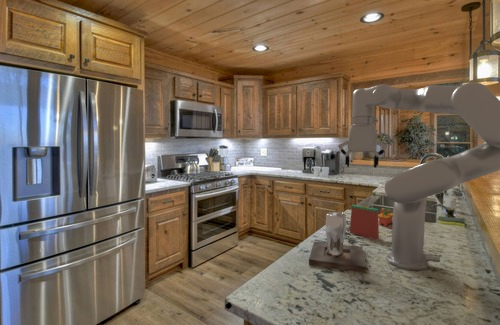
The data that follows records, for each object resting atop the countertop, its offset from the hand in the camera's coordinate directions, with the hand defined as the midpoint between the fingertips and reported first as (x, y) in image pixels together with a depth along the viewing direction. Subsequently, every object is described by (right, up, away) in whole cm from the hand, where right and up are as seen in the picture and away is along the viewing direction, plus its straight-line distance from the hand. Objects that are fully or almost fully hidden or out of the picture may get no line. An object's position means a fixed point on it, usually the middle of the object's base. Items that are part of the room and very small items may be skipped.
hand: (361, 166), depth 106 cm
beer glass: (-12, -32, -6) cm, 35 cm away
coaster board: (-11, -33, -7) cm, 35 cm away
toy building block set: (+21, -31, +30) cm, 48 cm away
